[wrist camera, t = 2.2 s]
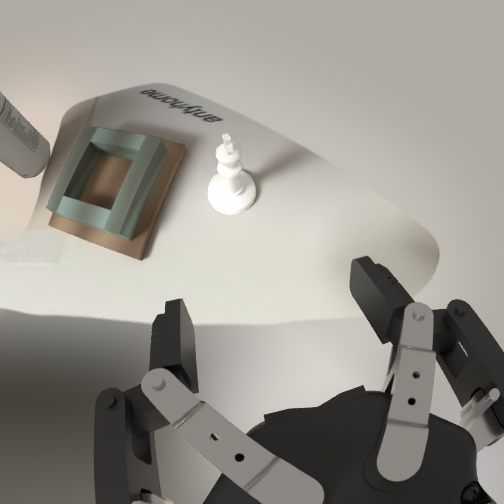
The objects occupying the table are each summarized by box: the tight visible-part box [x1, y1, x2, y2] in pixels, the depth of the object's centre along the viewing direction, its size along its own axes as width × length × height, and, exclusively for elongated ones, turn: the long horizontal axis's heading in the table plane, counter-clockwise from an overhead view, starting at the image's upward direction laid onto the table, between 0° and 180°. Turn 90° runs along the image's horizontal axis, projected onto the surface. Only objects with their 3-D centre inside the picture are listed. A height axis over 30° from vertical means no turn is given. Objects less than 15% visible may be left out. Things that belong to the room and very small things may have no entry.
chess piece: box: [208, 133, 256, 215], centre depth 24 cm, size 5×5×10 cm
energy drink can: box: [0, 92, 50, 178], centre depth 22 cm, size 6×6×15 cm
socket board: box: [46, 126, 186, 261], centre depth 27 cm, size 13×13×4 cm
